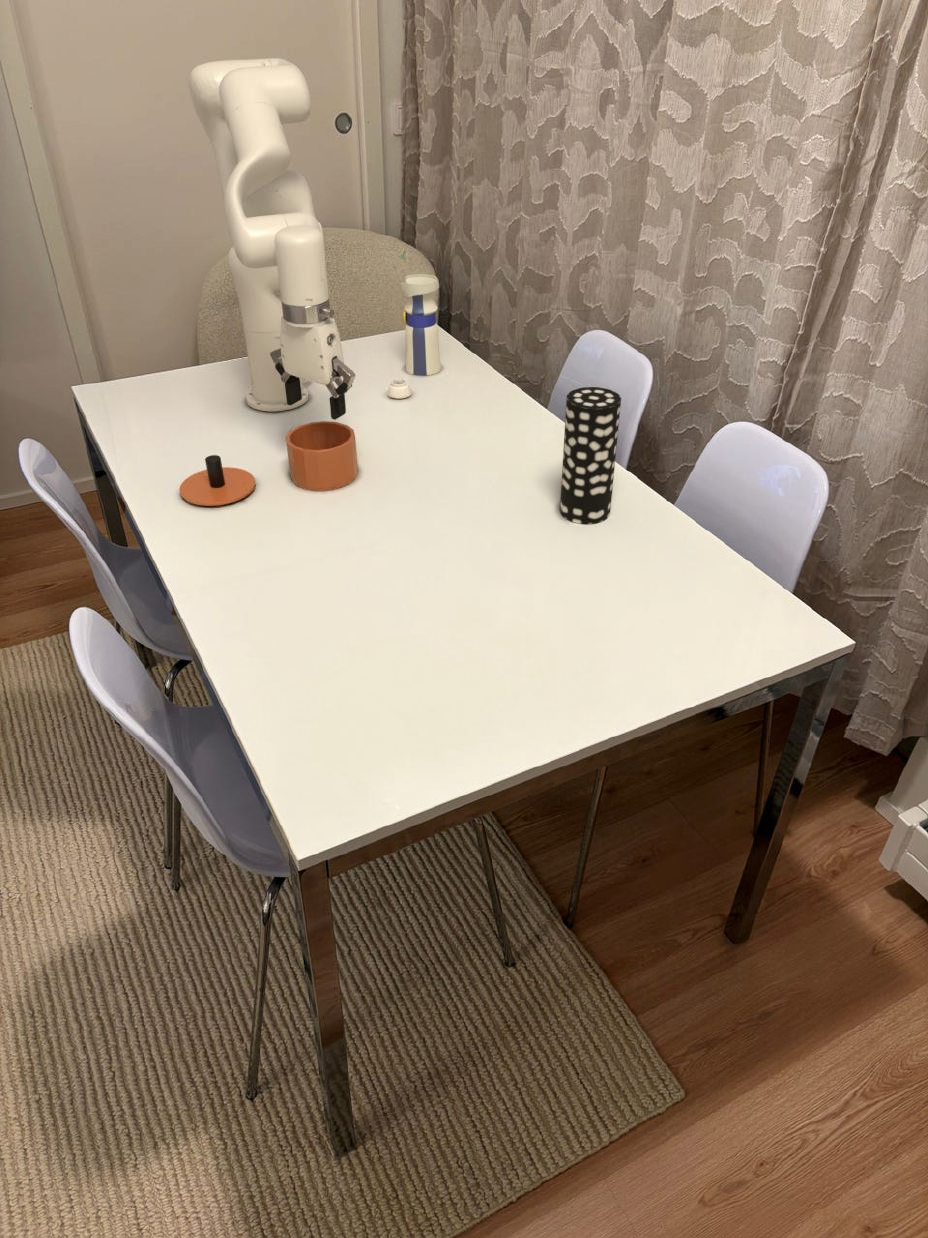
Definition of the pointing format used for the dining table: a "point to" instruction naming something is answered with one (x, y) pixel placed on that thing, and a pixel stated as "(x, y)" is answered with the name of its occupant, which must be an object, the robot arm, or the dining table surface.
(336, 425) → the orange hollow cylinder
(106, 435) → the dining table surface
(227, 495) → the lid
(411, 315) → the water bottle
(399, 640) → the dining table surface
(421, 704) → the dining table surface
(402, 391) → the white jar
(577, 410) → the white-spotted black cylinder
